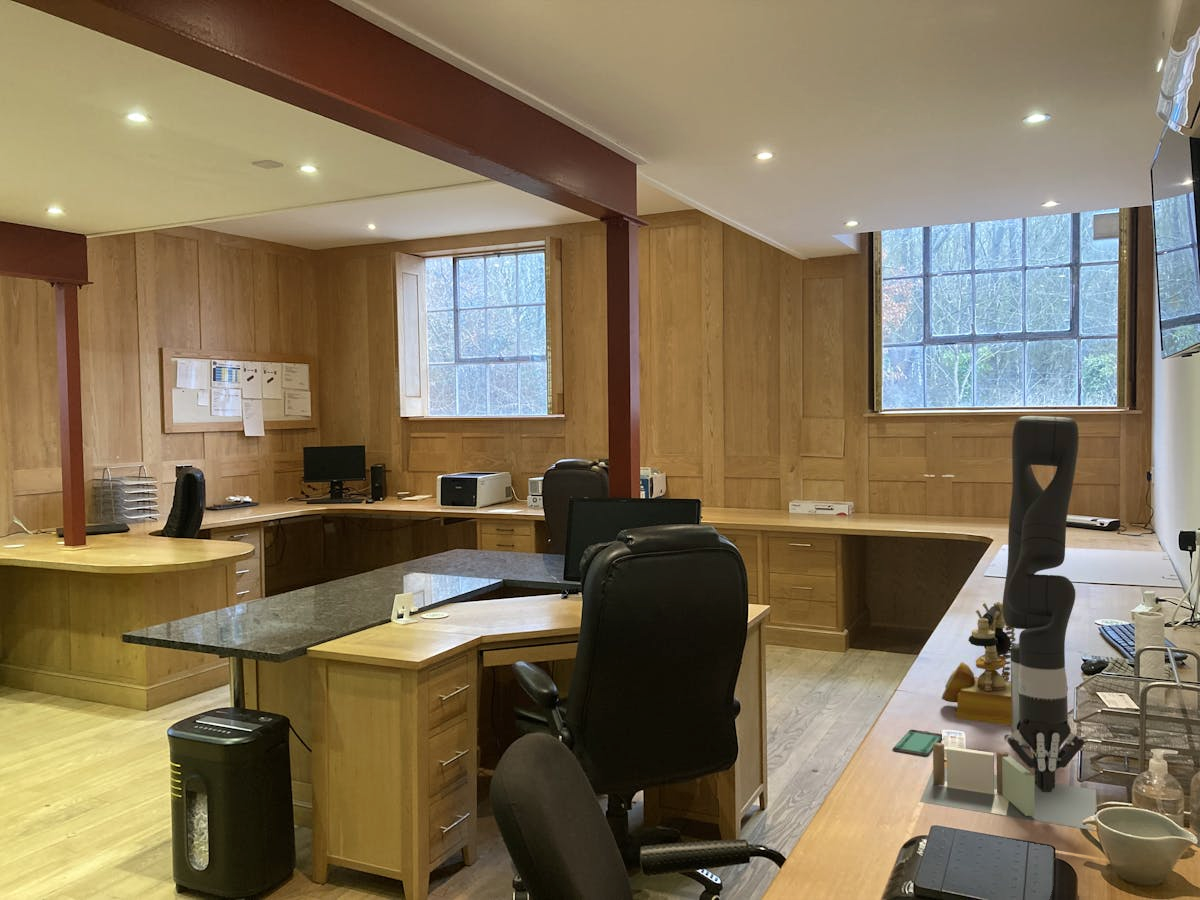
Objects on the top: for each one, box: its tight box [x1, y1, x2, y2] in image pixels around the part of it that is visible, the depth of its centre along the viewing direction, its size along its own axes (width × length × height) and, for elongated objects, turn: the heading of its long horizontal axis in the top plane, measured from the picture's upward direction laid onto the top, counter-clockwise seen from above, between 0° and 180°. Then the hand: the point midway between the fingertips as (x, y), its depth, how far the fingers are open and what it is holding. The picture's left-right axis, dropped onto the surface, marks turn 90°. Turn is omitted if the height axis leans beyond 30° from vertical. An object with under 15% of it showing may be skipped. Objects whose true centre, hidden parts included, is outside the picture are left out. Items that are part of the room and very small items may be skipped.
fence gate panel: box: [1002, 756, 1035, 816], centre depth 160 cm, size 9×2×7 cm, turn 0°
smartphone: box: [892, 729, 943, 758], centre depth 194 cm, size 7×1×15 cm
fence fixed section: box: [932, 742, 1010, 795], centre depth 169 cm, size 2×13×7 cm, turn 62°
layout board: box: [919, 766, 1098, 832], centre depth 165 cm, size 19×28×1 cm
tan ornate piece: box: [941, 601, 1017, 727], centre depth 218 cm, size 35×18×25 cm, turn 148°
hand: (1044, 790), depth 157 cm, fingers closed
